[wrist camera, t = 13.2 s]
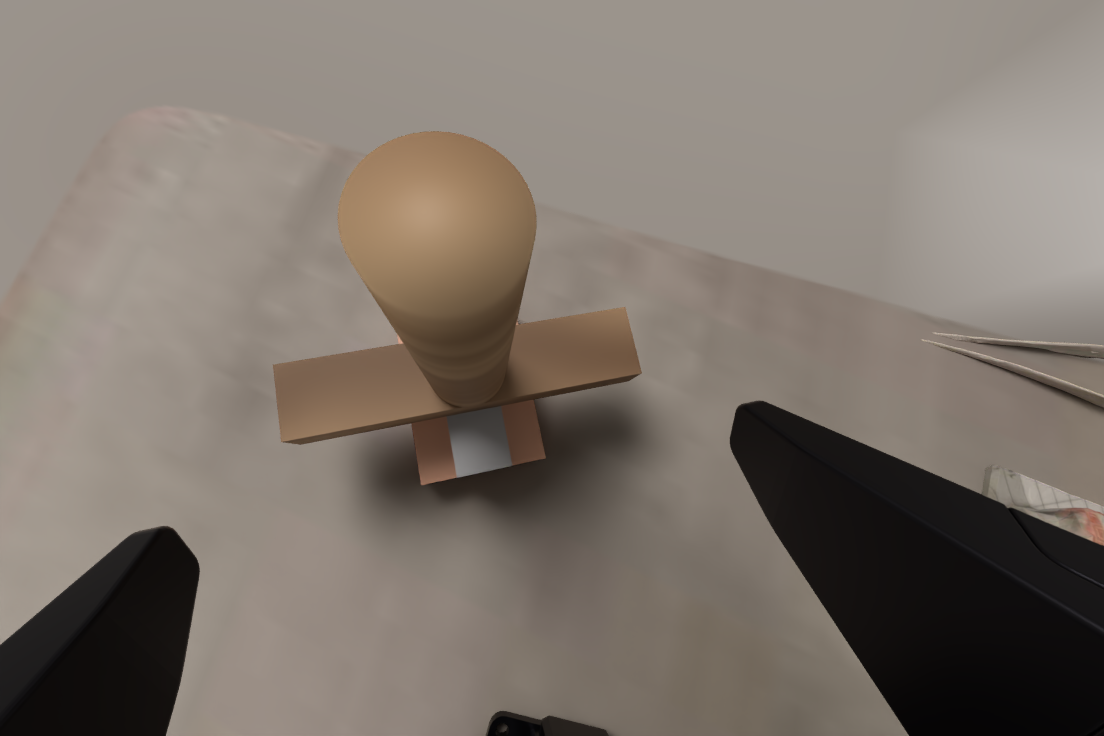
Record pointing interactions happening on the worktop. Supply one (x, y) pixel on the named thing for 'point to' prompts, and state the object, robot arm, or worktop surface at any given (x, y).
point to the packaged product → (1045, 503)
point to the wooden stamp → (445, 299)
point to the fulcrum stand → (477, 441)
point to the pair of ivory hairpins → (1067, 348)
